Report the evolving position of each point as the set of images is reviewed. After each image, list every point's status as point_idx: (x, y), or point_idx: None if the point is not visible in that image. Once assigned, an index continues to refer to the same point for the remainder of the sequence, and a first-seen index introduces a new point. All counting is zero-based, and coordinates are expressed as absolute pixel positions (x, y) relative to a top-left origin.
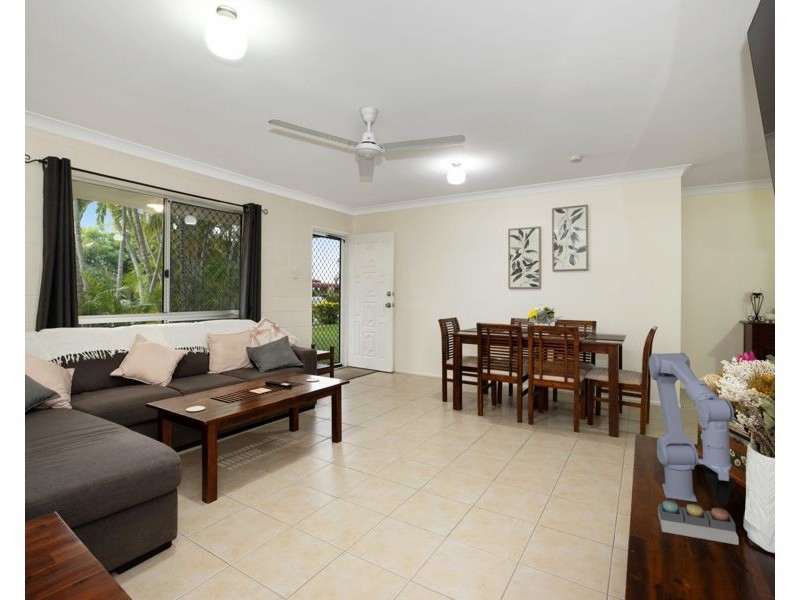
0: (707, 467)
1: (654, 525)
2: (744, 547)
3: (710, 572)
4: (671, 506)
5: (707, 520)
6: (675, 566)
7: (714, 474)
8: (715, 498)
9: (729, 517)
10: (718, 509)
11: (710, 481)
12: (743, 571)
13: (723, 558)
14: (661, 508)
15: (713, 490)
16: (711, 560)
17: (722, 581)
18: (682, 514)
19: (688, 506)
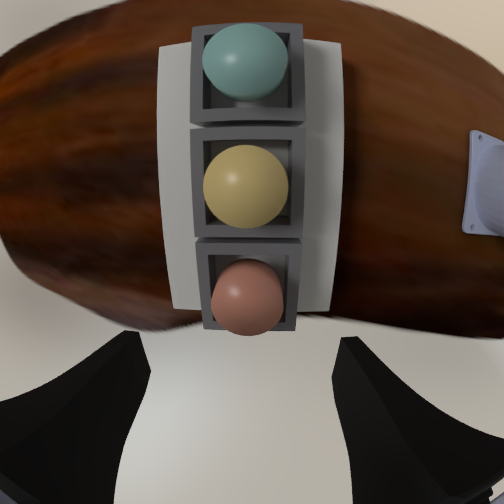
0: (407, 499)
1: None
2: None
3: (22, 193)
4: (203, 61)
5: (195, 230)
6: (16, 120)
7: (371, 463)
8: (127, 342)
9: None
10: (264, 306)
11: (361, 391)
12: (57, 266)
13: (83, 233)
14: None
15: (339, 352)
16: (61, 200)
17: (10, 214)
18: (204, 119)
19: (243, 154)
